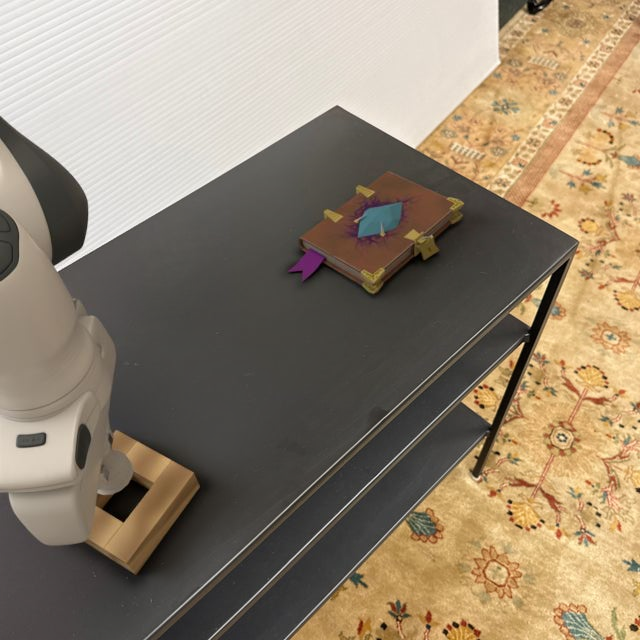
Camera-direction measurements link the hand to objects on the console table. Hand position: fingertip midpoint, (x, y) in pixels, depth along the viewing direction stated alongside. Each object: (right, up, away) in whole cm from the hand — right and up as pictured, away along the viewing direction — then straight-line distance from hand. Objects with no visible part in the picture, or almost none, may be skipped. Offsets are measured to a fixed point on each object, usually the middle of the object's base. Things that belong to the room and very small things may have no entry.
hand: (102, 463), depth 62 cm
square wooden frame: (0, -6, +8) cm, 10 cm away
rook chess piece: (0, -2, +2) cm, 3 cm away
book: (+29, +25, +32) cm, 50 cm away
